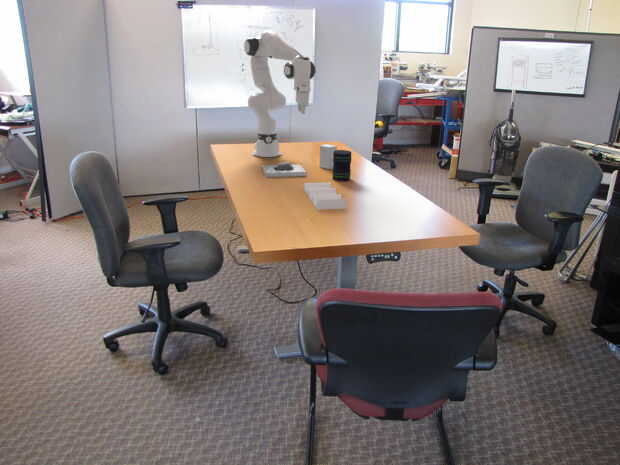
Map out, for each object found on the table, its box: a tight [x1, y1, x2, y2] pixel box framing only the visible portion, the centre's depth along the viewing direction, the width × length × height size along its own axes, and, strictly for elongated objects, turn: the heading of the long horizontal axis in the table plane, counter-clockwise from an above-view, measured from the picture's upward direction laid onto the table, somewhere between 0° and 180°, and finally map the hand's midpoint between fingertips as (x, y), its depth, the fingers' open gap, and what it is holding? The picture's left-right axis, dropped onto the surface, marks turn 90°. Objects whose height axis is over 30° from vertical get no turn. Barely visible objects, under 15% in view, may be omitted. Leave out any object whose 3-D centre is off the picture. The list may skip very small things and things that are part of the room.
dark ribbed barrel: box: [331, 149, 352, 182], centre depth 276 cm, size 10×10×15 cm
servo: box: [274, 161, 293, 170], centre depth 287 cm, size 4×10×6 cm, turn 102°
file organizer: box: [302, 181, 347, 210], centre depth 244 cm, size 13×35×5 cm, turn 11°
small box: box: [319, 143, 338, 170], centre depth 301 cm, size 8×6×13 cm
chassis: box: [261, 164, 307, 178], centre depth 288 cm, size 18×22×2 cm
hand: (301, 112), depth 286 cm, fingers open, 8 cm apart
